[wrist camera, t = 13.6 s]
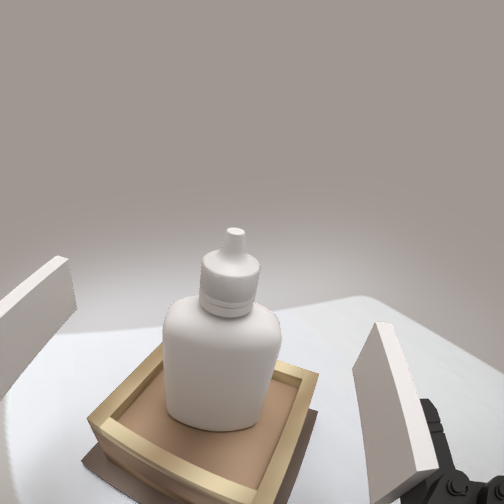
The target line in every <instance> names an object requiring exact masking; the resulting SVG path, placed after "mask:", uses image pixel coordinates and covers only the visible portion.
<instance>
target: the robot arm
mask: <svg viewBox="0 0 504 504" xmlns="http://www.w3.org/2000/svg"><path fill="white" fill-rule="evenodd" d="M70 271H71V270H70V264H69V259H68V258H64V257H60V256H55V257H54V258H53V259H52V260H50V261H49V262H48V263H46V264H45V265H44V266H42V267H41V268H40V269H39V270H37V271H36V272H35V273H34V274H32V275H31V276H30V277H29V278H27V279H26V280H25V281H24V282H22V283H21V284H20V285H19V286H18V287H16V288H15V289H14V290H13V291H12V292H10V293H9V294H8V295H7V296H6V297H5V298H3V299H2V300H1V301H0V401H1V400H2V399H3V397H4V396H5V395H6V393H7V392H8V391H9V389H10V388H11V387H12V385H13V384H14V383H15V382H16V380H17V379H18V378H19V376H20V375H21V374H22V373H23V371H24V370H25V369H26V368H27V366H28V365H29V364H30V363H31V362H32V360H33V359H34V358H35V357H36V355H37V354H38V353H39V352H40V351H41V350H42V348H43V347H44V346H45V345H46V344H47V342H48V341H49V340H50V339H51V338H52V337H53V335H54V334H55V333H56V332H57V331H58V330H59V329H60V328H61V326H62V325H63V324H64V323H65V322H66V321H67V320H68V318H69V317H70V316H71V315H72V314H73V313H74V312H75V311H76V310H77V305H76V300H75V295H74V289H73V283H72V277H71V272H70ZM352 371H353V376H354V382H355V388H356V394H357V400H358V406H359V413H360V419H361V426H362V434H363V441H364V449H365V457H366V466H367V475H368V485H369V496H370V504H390V503H392V502H394V501H395V500H397V499H398V498H400V501H401V504H504V476H496V477H494V478H493V479H492V480H490V481H489V482H488V483H483V482H474V481H470V480H469V478H468V477H467V475H465V474H464V473H463V472H462V471H459V470H456V469H455V467H454V464H453V460H452V457H451V453H450V450H449V446H448V443H447V440H446V436H445V433H443V431H444V430H443V427H442V424H440V418H439V415H438V412H437V409H436V408H435V407H434V405H433V404H432V403H431V401H430V400H429V399H419V396H418V393H417V390H416V387H415V384H414V382H413V379H412V376H411V373H410V370H409V367H408V365H407V362H406V359H405V356H404V354H403V351H402V349H401V346H400V343H399V341H398V338H397V336H396V333H395V331H394V328H393V326H392V324H391V323H383V322H376V321H375V323H374V325H373V327H372V330H371V332H370V334H369V336H368V338H367V340H366V342H365V344H364V347H363V349H362V351H361V353H360V355H359V357H358V359H357V361H356V363H355V364H354V366H353V368H352Z"/></svg>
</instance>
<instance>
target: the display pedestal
mask: <svg viewBox="0 0 504 504" xmlns="http://www.w3.org/2000/svg"><path fill="white" fill-rule="evenodd" d="M318 376H319V374H318V373H315V372H312V371H309V370H305V369H302V368H299V367H296V366H293V365H290V364H287V363H285V362H282V361H279V360H277V361H276V364H275V368H274V371H273V374H272V378H271V381H270V384H269V388H268V391H267V394H266V397H265V400H264V403H263V406H262V409H261V412H260V415H259V418H258V421H257V423H255V424H254V425H253V426H251V427H248V428H245V429H240V430H235V431H222V432H219V431H208V430H202V429H198V428H194V427H191V426H189V425H186V424H184V423H181V422H179V421H177V420H176V419H174V418H172V417H171V416H170V414H169V413H168V412H167V406H166V395H165V382H164V366H163V342H162V343H161V344H160V345H159V346H158V347H157V348H156V349H155V350H154V351H153V352H152V353H151V354H150V355H149V356H148V357H147V358H146V359H145V360H144V361H143V362H142V363H141V364H140V365H139V366H138V367H137V368H136V369H135V370H134V371H133V372H132V373H131V374H130V375H129V376H128V377H127V378H126V379H125V380H124V381H123V382H122V383H121V384H120V385H119V386H118V387H117V388H116V389H115V390H114V391H113V392H112V393H111V394H110V395H109V396H108V397H107V398H106V399H105V400H104V401H103V402H102V403H101V404H100V405H99V406H98V407H97V408H96V409H95V410H94V411H93V412H92V413H91V414H90V415H89V416H88V417H87V420H88V422H89V424H90V426H91V428H92V430H93V433H94V435H95V437H96V439H97V440H98V443H97V444H96V445H95V446H94V447H93V448H92V449H91V450H90V451H89V453H88V454H87V455H86V456H85V457H84V458H83V459H82V460H81V462H82V463H83V465H84V466H85V467H87V468H88V469H89V470H91V471H92V472H93V473H95V474H96V475H97V476H99V477H100V478H101V479H103V480H104V481H106V482H107V483H109V484H110V485H112V486H113V487H114V488H116V489H117V490H119V491H121V492H122V493H124V494H125V495H127V496H128V497H130V498H132V499H133V500H135V501H137V502H138V503H140V504H287V501H288V499H289V496H290V494H291V491H292V488H293V486H294V483H295V480H296V478H297V475H298V472H299V469H300V466H301V464H302V461H303V458H304V455H305V452H306V449H307V446H308V443H309V440H310V436H311V433H312V430H313V427H314V423H315V420H316V417H317V413H318V411H315V410H312V409H309V405H310V402H311V399H312V396H313V393H314V389H315V386H316V383H317V379H318Z"/></svg>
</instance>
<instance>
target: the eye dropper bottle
mask: <svg viewBox="0 0 504 504" xmlns="http://www.w3.org/2000/svg"><path fill="white" fill-rule="evenodd" d="M259 273H260V265H259V263H258V261H257V260H256V259H254V258H253V257H252V256H250V255H248V254H246V249H245V232H244V231H243V230H242V229H239V228H228V229H227V232H226V235H225V237H224V240H223V243H222V246H221V249H220V250H215V251H212V252H210V253H208V254H207V255H205V256H204V257H203V259H202V266H201V279H200V290H199V295H194V296H190V297H186V298H182V299H180V300H178V301H175V302H174V303H173V304H172V305H171V306H170V307H169V309H168V311H167V314H166V317H165V320H164V324H163V331H162V332H163V366H164V382H165V395H166V406H167V412H168V413H169V414H170V416H171V417H172V418H174V419H176V420H177V421H179V422H181V423H184V424H186V425H189V426H191V427H194V428H198V429H202V430H208V431H219V432H222V431H235V430H240V429H245V428H248V427H251V426H253V425H254V424H255V423H257V421H258V418H259V415H260V412H261V409H262V406H263V403H264V400H265V397H266V394H267V391H268V388H269V384H270V381H271V378H272V374H273V371H274V368H275V364H276V361H277V357H278V354H279V350H280V346H281V328H280V323H279V320H278V318H277V316H276V315H275V314H274V313H273V312H272V311H270V310H269V309H267V308H265V307H264V306H262V305H260V304H258V303H256V302H254V299H255V294H256V289H257V284H258V279H259Z"/></svg>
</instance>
